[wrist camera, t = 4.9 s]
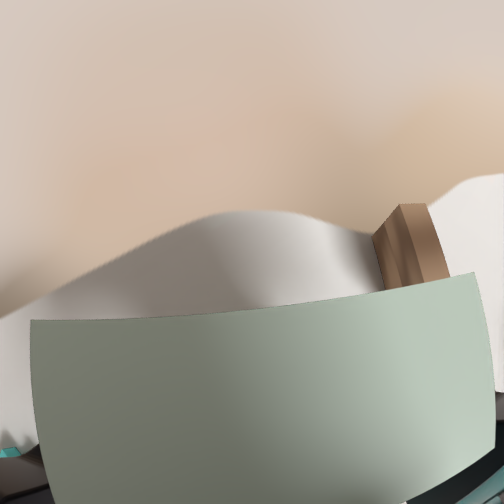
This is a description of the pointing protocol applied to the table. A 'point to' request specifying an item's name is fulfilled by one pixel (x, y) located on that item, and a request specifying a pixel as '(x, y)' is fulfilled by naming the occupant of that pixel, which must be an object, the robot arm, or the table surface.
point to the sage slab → (268, 400)
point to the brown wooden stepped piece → (409, 248)
